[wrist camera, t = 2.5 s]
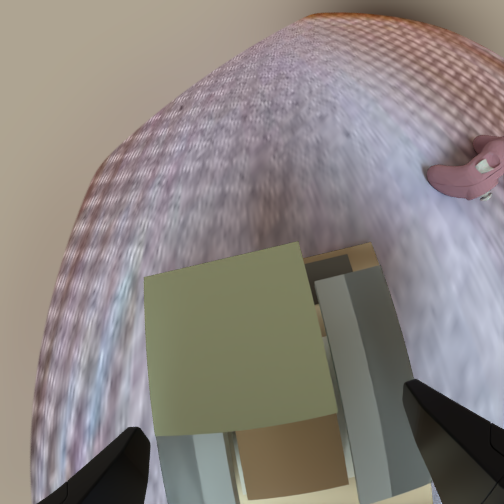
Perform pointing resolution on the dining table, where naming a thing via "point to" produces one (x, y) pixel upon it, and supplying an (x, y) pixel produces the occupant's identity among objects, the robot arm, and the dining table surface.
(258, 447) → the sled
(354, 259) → the base board
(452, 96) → the dining table surface
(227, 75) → the dining table surface
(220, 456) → the dock
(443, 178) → the video game controller
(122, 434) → the robot arm
